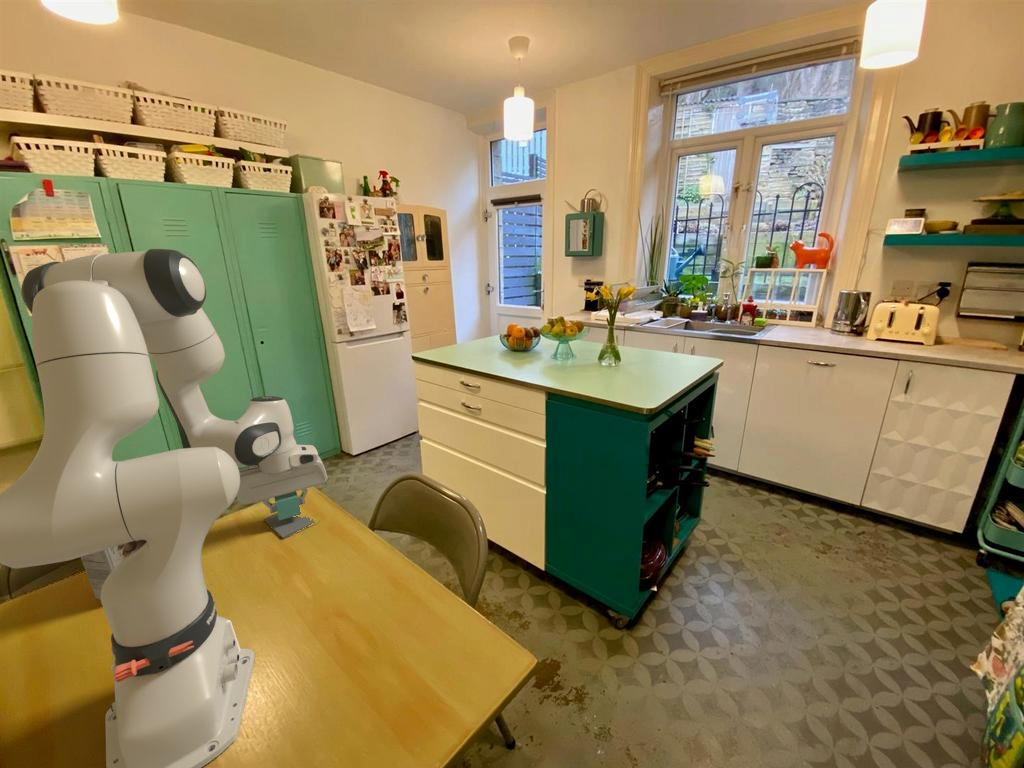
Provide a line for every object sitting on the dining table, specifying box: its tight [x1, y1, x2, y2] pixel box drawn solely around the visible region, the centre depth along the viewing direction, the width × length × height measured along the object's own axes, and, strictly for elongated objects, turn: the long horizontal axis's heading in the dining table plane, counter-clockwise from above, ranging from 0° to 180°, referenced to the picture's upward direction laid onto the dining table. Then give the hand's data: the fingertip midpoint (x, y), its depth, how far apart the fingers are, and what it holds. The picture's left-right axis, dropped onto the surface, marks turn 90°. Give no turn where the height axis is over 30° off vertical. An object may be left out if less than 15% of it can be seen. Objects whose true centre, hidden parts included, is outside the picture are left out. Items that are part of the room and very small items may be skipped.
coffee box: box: [80, 540, 147, 601], centre depth 86 cm, size 9×6×16 cm
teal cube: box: [273, 491, 301, 520], centre depth 108 cm, size 5×5×5 cm
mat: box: [263, 512, 315, 539], centre depth 109 cm, size 12×9×1 cm
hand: (287, 507), depth 108 cm, fingers closed on teal cube, 5 cm apart
